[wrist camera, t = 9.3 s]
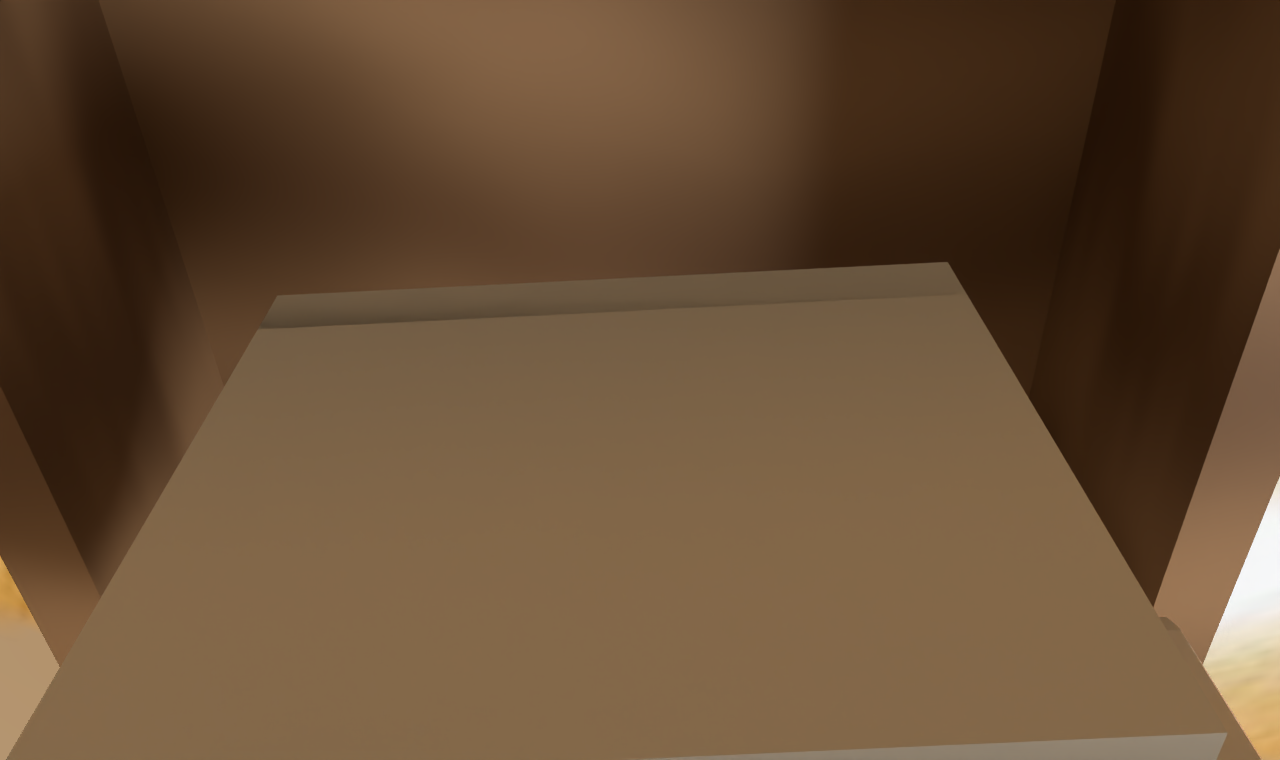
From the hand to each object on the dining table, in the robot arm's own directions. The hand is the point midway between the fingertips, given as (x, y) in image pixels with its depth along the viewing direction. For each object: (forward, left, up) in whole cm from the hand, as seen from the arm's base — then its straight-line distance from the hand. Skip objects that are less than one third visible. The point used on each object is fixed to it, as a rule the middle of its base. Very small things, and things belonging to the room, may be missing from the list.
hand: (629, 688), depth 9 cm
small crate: (0, 0, -2) cm, 2 cm away
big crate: (0, 0, -10) cm, 10 cm away
